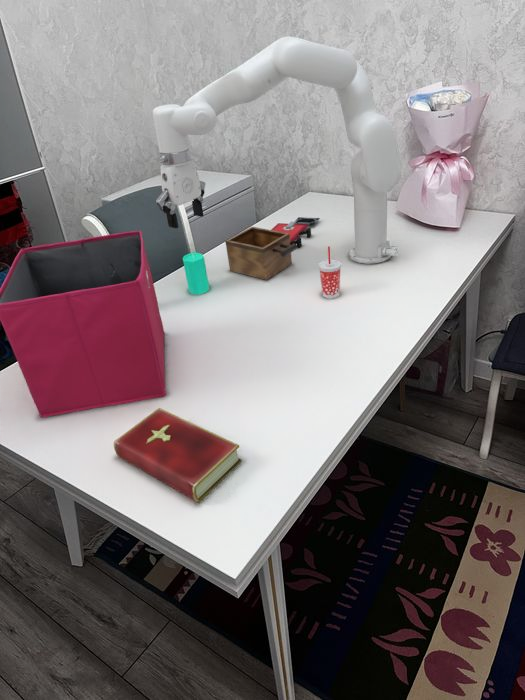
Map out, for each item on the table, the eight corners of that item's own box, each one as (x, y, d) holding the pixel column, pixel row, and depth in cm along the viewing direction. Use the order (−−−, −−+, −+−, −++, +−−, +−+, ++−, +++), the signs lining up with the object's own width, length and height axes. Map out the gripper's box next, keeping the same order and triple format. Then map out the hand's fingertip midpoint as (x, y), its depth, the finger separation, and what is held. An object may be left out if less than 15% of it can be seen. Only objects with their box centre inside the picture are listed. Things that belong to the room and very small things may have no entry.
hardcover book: (197, 504, 94) (192, 486, 92) (117, 458, 106) (111, 441, 103) (241, 461, 102) (238, 444, 99) (163, 422, 113) (158, 406, 111)
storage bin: (171, 397, 120) (142, 278, 105) (37, 422, 118) (-13, 304, 103) (168, 332, 144) (144, 228, 128) (56, 352, 141) (18, 248, 126)
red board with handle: (325, 220, 198) (287, 219, 205) (324, 213, 197) (286, 211, 203) (292, 255, 177) (250, 252, 183) (291, 247, 175) (249, 244, 182)
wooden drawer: (305, 266, 168) (303, 236, 163) (280, 283, 160) (277, 252, 155) (255, 255, 179) (251, 226, 174) (229, 270, 172) (225, 240, 166)
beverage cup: (321, 289, 155) (318, 242, 148) (343, 289, 154) (341, 241, 146) (318, 299, 150) (315, 251, 143) (341, 299, 149) (339, 251, 141)
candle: (189, 286, 166) (181, 249, 159) (209, 284, 166) (202, 246, 159) (188, 295, 161) (181, 257, 154) (209, 293, 161) (202, 254, 154)
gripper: (160, 167, 135) (173, 234, 144) (209, 150, 146) (217, 213, 155) (140, 164, 139) (153, 229, 149) (188, 148, 150) (198, 209, 159)
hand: (186, 221), depth 152 cm, fingers open, 9 cm apart
